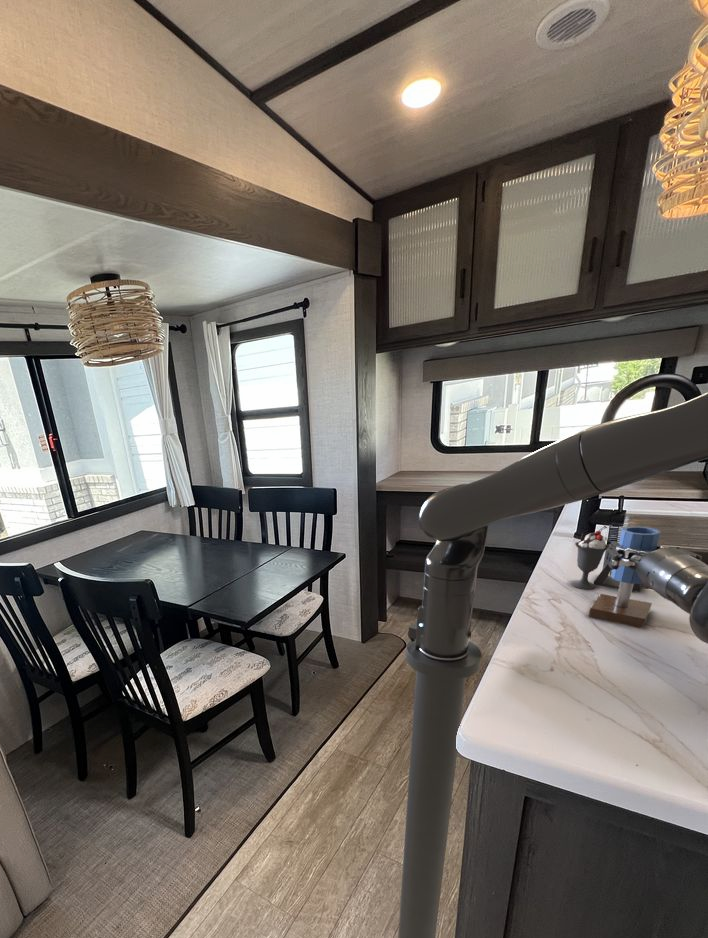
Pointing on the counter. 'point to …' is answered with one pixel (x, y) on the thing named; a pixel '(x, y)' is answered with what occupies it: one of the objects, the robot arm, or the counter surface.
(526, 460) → the robot arm
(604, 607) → the wooden base post
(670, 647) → the counter surface
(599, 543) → the sundae
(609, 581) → the phone stand
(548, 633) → the counter surface
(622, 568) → the blue sleeve
